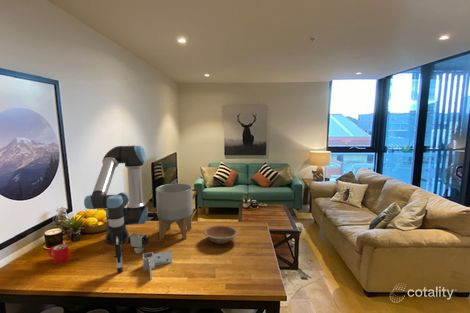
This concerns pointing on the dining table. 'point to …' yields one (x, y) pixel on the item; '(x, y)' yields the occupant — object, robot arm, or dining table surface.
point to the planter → (174, 207)
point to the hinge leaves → (156, 260)
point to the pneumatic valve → (138, 242)
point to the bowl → (220, 233)
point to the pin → (120, 267)
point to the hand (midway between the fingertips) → (119, 265)
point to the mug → (59, 253)
